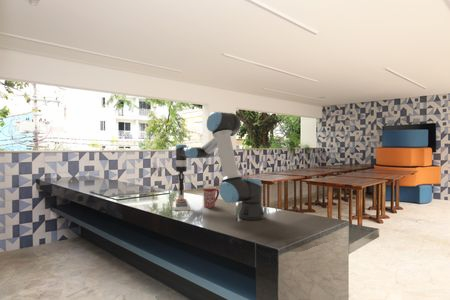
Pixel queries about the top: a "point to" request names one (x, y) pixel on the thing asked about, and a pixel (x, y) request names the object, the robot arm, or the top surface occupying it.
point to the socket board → (181, 205)
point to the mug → (210, 196)
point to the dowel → (178, 193)
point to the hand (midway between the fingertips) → (181, 198)
